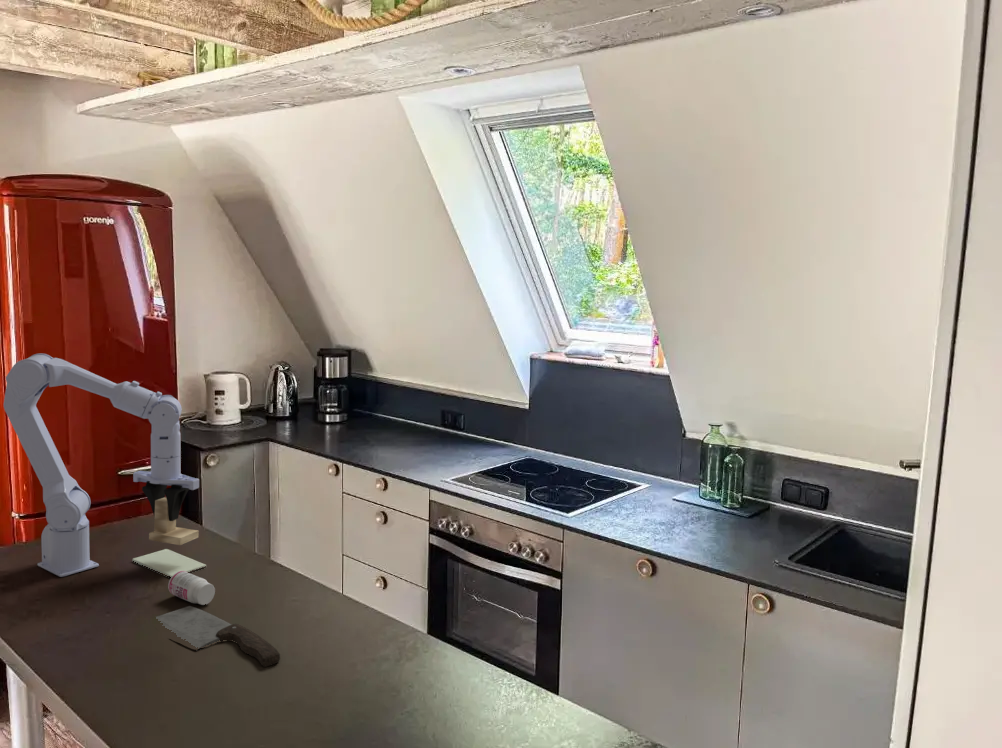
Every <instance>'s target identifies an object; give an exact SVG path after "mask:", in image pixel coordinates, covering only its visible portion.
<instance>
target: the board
mask: <svg viewBox="0 0 1002 748" xmlns="http://www.w3.org/2000/svg"><path fill="white" fill-rule="evenodd" d="M133 561H134V562H133ZM132 562H133V563H135V562H136V563H135V564H137V563H138V564H137V565H140V566H142V565H143V566H142V567H144V566H146V567H148V568H147V569H149V568H150V569H149V570H151V569H153V570H155V571H158V572H160V573H163V574H165V575H167V576H170V577H172V576H173V575H174V574H175V573H177V572H179V571H186V572H190V571H192V570H196V569H199V568H202V567H205V566H206V567H207V564H205V563H202V562H200V561H198V560H195V559H193V558H191V557H188V556H185V555H183V554H180V553H178V552H175V551H173V550H171V549H168V548H164V549H162V550H161V549H160V550H158V551H155V552H151V553H147V554H145V555H140V556H138V557H132ZM146 567H145V568H146ZM153 570H152V571H153ZM155 571H154V572H155ZM158 572H157V573H158ZM160 573H159V574H160ZM165 575H164V576H165ZM167 576H166V577H167Z"/></svg>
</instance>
